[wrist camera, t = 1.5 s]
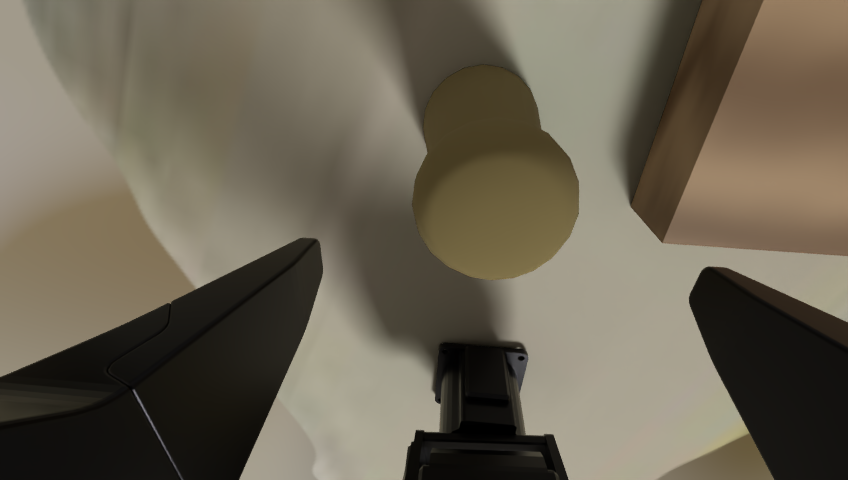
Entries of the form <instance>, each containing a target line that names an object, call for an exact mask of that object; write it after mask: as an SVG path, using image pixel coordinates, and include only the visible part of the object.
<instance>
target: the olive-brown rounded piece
mask: <svg viewBox="0 0 848 480" xmlns="http://www.w3.org/2000/svg"><path fill="white" fill-rule="evenodd" d="M423 130H424V136H425V141H426V147H427V152H428V153H427V155H426V157H425V159H424V161H423V163H422V165H421V167H420V169H419V171H418V173H417V176H416V179H415V184H414V192H413V200H412V207H413V211H414V216H415V220H416V225H417V228H418V232H419V234H420V236H421V237H422V239H423V241H424V242H425V244H426V245H427V247H428V249H429V250H430V252H431V253H432V254H434V255H435V256H436V257H437V258H438V259H439V260H441V261H442V262H443V263H444V264H445V265H447V266H448V267H450V268H452V269H454V270H456V271H458V272H461V273H463V274H465V275H467V276H470V277H474V278H481V279H487V280H499V279H508V278H515V277H517V276H520V275H523V274H526V273H528V272H531V271H534V270H535V269H537V268H538V267H540V266H541V265H542V264H544V263H545V262H547V261H548V260H550V259H551V258H552V257H553V256H554V255H555V254H556V253H557V252H558V250H559V249H560V248H561V247H562V245H563V244H564V243H565V242H566V240H567V239H568V238H569V237H570V235H571V232H572V230H573V227H574V224H575V222H576V219H577V217H578V214H579V181H578V179H577V176H576V173H575V170H574V168H573V165H572V162H571V160H570V158H569V156H568V155H567V154H566V153H565V152H564V150H563V149H562V148H561V147H560V146H559V145H558V144H557V143H556V141H555V140H554V139H553V138H552V137H551V136H550V135H549V134H548V133H547V132H545V131H543V130H541V125H540V119H539V113H538V108H537V105H536V102H535V100H534V97H533V95H532V92H531V90H530V89H529V88H528V87H527V86H526V84H525V83H524V82H523V81H522V80H521V79H520V77H519V76H517V75H515V74H513V73H511V72H509V71H508V70H506V69H504V68H502V67H496V66H490V65H477V66H472V67H467V68H463V69H461V70H459V71H458V72H456V73H454V74H452V75H451V76H449V77H447V78H446V79H445V80H444V81H443V82H442V83H441V84H440V85H439V86H438V88H437V89H436V90H435V91H434V92H433V94H432V96H431V98H430V100H429V102H428V105H427V107H426V109H425V115H424V123H423Z"/></svg>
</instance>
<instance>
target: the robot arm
mask: <svg viewBox="0 0 848 480" xmlns="http://www.w3.org/2000/svg"><path fill="white" fill-rule="evenodd" d="M322 274H323V264H322V256H321V248H320V243H319V241H318V240H317V239H313V238H300V239H298V240H296V241H294V242H292V243H289V244H287V245H285V246H283V247H281V248H279V249H277V250H275V251H273V252H271V253H269V254H267V255H265V256H263V257H261V258H259V259H257V260H255V261H253V262H251V263H249V264H247V265H245V266H243V267H241V268H239V269H237V270H234V271H232V272H230V273H228V274H226V275H224V276H222V277H220V278H218V279H216V280H214V281H212V282H210V283H208V284H206V285H204V286H202V287H200V288H198V289H196V290H194V291H192V292H190V293H188V294H186V295H184V296H182V297H179V298H178V299H175V300H173V301H172V302H171V304H170V303H167V304H165V305H163V306H161V307H159V308H157V309H155V310H153V311H151V312H149V313H147V314H145V315H142V316H140V317H138V318H136V319H134V320H132V321H130V322H128V323H125V324H124V325H121V326H119V327H116V328H114V329H112V330H110V331H107V332H105V333H103V334H100V335H98V336H96V337H94V338H91V339H89V340H87V341H84V342H82V343H80V344H77V345H75V346H73V347H70V348H68V349H66V350H63V351H61V352H59V353H56V354H54V355H52V356H49V357H47V358H44V359H42V360H40V361H38V362H35V363H33V364H30V365H28V366H25V367H23V368H21V369H19V370H16V371H14V372H11V373H9V374H7V375H4V376H2V377H0V480H239V479H240V476H241V474H242V472H243V470H244V467H245V465H246V463H247V460H248V458H249V456H250V454H251V451H252V449H253V447H254V445H255V442H256V440H257V438H258V436H259V434H260V431H261V429H262V427H263V425H264V422H265V420H266V418H267V416H268V413H269V411H270V409H271V407H272V404H273V402H274V400H275V398H276V395H277V393H278V391H279V389H280V387H281V384H282V382H283V380H284V378H285V375H286V373H287V371H288V369H289V366H290V364H291V362H292V360H293V357H294V355H295V353H296V351H297V348H298V346H299V344H300V342H301V339H302V337H303V335H304V332H305V330H306V327H307V324H308V321H309V318H310V315H311V311H312V308H313V305H314V301H315V298H316V295H317V292H318V288H319V285H320V282H321V278H322ZM689 304H690V307H691V310H692V312H693V315H694V317H695V320H696V322H697V325H698V327H699V330H700V332H701V335H702V337H703V340H704V342H705V345H706V348H707V350H708V353H709V355H710V357H711V360H712V362H713V364H714V366H715V368H716V370H717V372H718V374H719V376H720V378H721V380H722V382H723V383H724V385H725V387H726V389H727V391H728V393H729V395H730V397H731V399H732V401H733V402H734V404H735V406H736V408H737V410H738V412H739V414H740V416H741V418H742V420H743V421H744V423H745V425H746V427H747V429H748V431H749V433H750V435H751V436H752V438H753V440H754V442H755V444H756V446H757V448H758V450H759V452H760V454H761V456H762V458H763V459H764V461H765V463H766V465H767V467H768V469H769V471H770V473H771V475H772V476H773V478H774V480H848V322H846V321H843V320H841V319H839V318H837V317H835V316H832V315H830V314H828V313H826V312H823V311H821V310H819V309H817V308H815V307H812V306H810V305H808V304H806V303H804V302H801V301H799V300H797V299H795V298H792V297H790V296H788V295H786V294H784V293H781V292H779V291H777V290H775V289H773V288H770V287H768V286H766V285H764V284H761V283H759V282H757V281H755V280H753V279H750V278H748V277H746V276H744V275H742V274H739V273H737V272H735V271H733V270H730V269H728V268H724V267H706V268H704V269H703V270H702V271H701V273H700V275H699V277H698V279H697V281H696V283H695V285H694V287H693V289H692V291H691V293H690V296H689ZM445 349H446V350H445ZM520 356H521V357H520ZM527 362H528V354H527V352H526V351H525V350H522V349H512V348H500V347H488V346H476V345H465V344H453V343H443V344H441V345H440V346H439V354H438V367H437V380H436V392H435V401H436V402H437V403H439V404H441V408H440V429H439V432H424V430H416V433H415V438H414V442H411V446H409V447H408V451H407V459H406V467H405V473H404V477H403V480H568V477H567V474H566V471H565V468H564V465H563V462H562V459H561V456H560V453H559V450H558V447H557V444H556V441H555V438H554V435H553V434H544V436H537V435H526V433H525V427H524V420H523V414H522V408H521V401H520V395H519V394H520V390H521V386H522V382H523V378H524V374H525V370H526V366H527Z"/></svg>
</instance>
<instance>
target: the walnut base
mask: <svg viewBox="0 0 848 480" xmlns="http://www.w3.org/2000/svg"><path fill="white" fill-rule="evenodd" d="M631 208H632V209H633V210H634V211H635V212H636V213H637V215H638V216H639V217H640V218H641V219H642V220H643V221H644V223H645V224H646V225H647V226H648V227H649V228H650V230H651V231H652V232H653V233H654V234H655V235H656V236H657V238H658V239H659V240H660V241H661V242H662V243H668V244H682V245H696V246H711V247H725V248H739V249H754V250H768V251H783V252H797V253H811V254H826V255H840V256H848V0H702V3H701V6H700V8H699V11H698V14H697V17H696V20H695V23H694V26H693V29H692V32H691V34H690V37H689V40H688V43H687V46H686V49H685V52H684V55H683V57H682V60H681V63H680V66H679V69H678V72H677V75H676V78H675V80H674V83H673V86H672V89H671V92H670V95H669V98H668V101H667V104H666V106H665V109H664V112H663V115H662V118H661V121H660V124H659V127H658V129H657V132H656V135H655V138H654V141H653V144H652V147H651V150H650V153H649V155H648V158H647V161H646V164H645V167H644V170H643V173H642V176H641V178H640V181H639V184H638V187H637V190H636V193H635V196H634V199H633V201H632V204H631Z"/></svg>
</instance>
